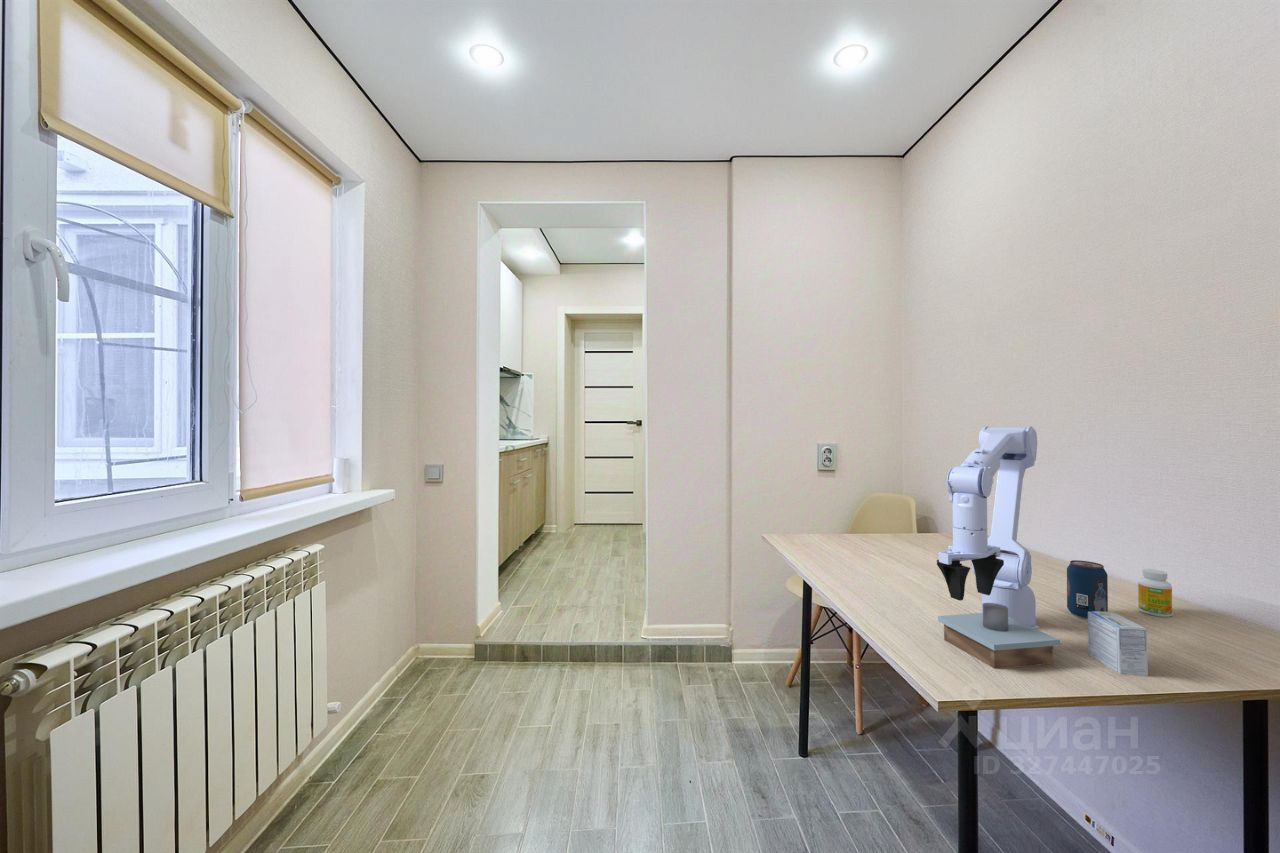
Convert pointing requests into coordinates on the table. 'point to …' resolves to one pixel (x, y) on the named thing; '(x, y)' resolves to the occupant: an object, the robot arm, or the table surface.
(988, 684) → the table surface
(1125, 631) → the medicine box
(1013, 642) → the lid
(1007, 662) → the storage box
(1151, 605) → the supplement bottle
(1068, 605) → the soda can
